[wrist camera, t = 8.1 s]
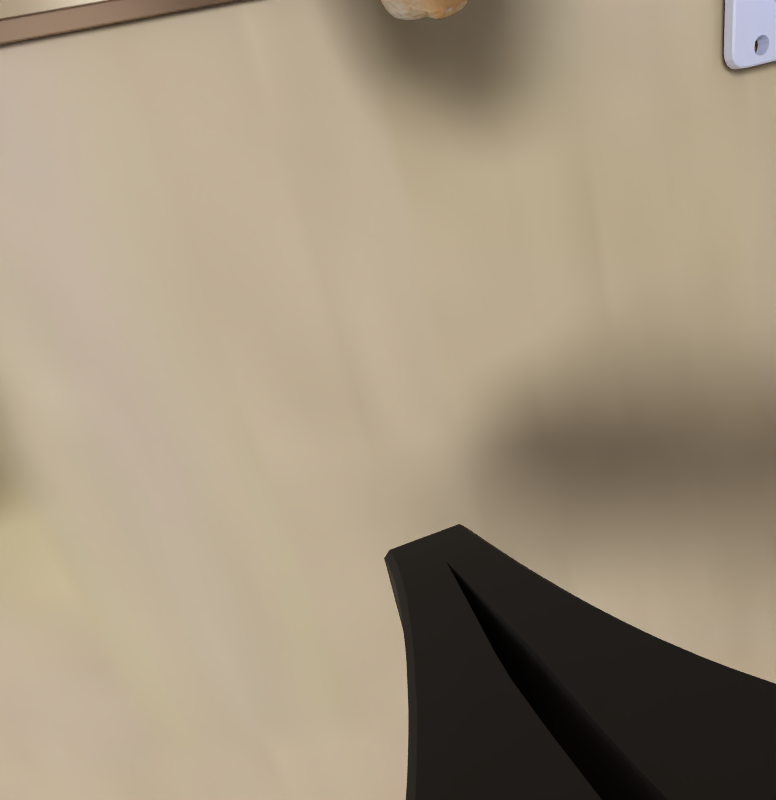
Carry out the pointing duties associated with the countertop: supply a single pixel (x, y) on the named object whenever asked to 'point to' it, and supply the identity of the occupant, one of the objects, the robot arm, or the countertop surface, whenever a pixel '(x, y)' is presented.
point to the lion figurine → (423, 8)
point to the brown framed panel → (80, 14)
